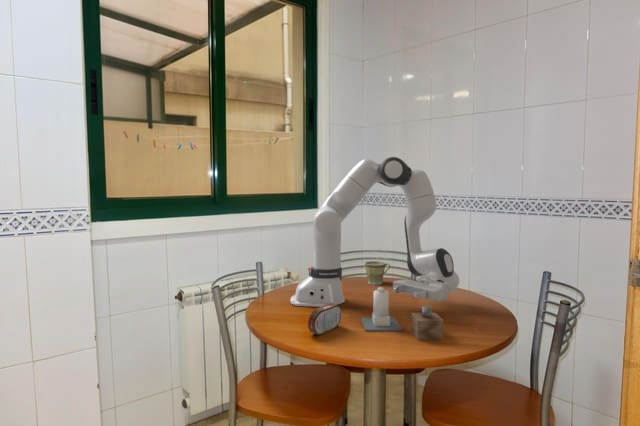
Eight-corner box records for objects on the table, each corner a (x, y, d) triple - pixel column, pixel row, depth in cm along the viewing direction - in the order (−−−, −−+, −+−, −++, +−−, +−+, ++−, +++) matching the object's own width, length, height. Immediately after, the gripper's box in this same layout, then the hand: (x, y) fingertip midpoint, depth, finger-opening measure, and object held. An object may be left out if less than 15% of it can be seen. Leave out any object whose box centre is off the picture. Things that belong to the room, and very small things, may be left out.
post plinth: (417, 339, 126) (417, 311, 125) (411, 330, 134) (411, 303, 133) (443, 339, 126) (443, 311, 125) (435, 330, 134) (435, 303, 133)
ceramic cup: (369, 286, 193) (369, 265, 192) (361, 281, 203) (361, 261, 202) (394, 284, 197) (394, 263, 196) (385, 279, 206) (385, 260, 205)
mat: (365, 331, 133) (365, 329, 133) (361, 319, 145) (361, 317, 145) (402, 330, 134) (402, 329, 134) (394, 318, 146) (394, 317, 146)
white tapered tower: (374, 326, 137) (374, 290, 136) (372, 320, 142) (372, 286, 141) (390, 325, 137) (390, 290, 136) (387, 320, 142) (387, 286, 141)
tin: (335, 324, 141) (335, 300, 140) (343, 326, 139) (343, 301, 138) (307, 336, 129) (307, 310, 129) (314, 339, 127) (314, 312, 127)
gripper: (406, 274, 163) (382, 279, 154) (451, 283, 147) (427, 289, 138) (406, 289, 163) (382, 295, 155) (450, 300, 147) (427, 308, 139)
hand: (404, 292), depth 146 cm, fingers open, 8 cm apart
